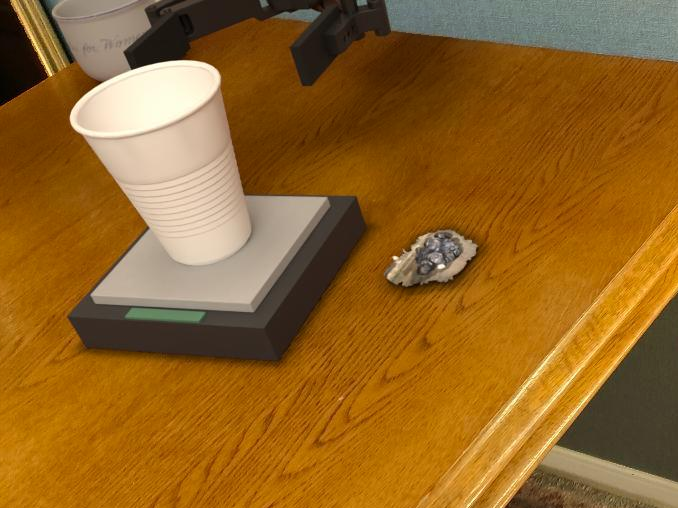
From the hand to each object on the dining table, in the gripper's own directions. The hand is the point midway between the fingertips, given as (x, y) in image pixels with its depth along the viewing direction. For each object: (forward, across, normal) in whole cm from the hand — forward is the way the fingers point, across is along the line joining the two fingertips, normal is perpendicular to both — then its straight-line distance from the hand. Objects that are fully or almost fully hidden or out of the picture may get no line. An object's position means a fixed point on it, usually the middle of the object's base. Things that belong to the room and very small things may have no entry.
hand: (215, 69), depth 71 cm
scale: (+8, 0, -12) cm, 15 cm away
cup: (+8, 0, -9) cm, 12 cm away
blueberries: (+4, -15, -13) cm, 20 cm away
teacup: (-27, +28, -13) cm, 41 cm away
